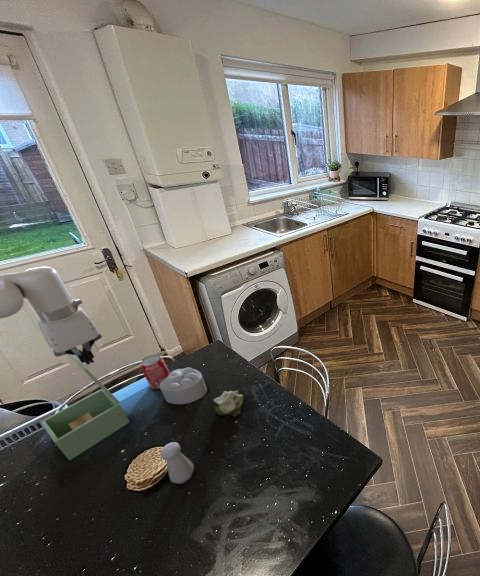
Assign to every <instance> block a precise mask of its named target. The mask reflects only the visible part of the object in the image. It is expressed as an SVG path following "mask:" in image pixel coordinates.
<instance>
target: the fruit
mask: <svg viewBox="0 0 480 576" xmlns="http://www.w3.org/2000/svg"><path fill="white" fill-rule="evenodd" d="M212 402H213V404H208V406H209V407H213V409H214V411H215V413H217V414H218V415H219V416H231V417H235V418H236V417H237V415H241V411H242V406H243V403H244V395H243V394H242V393H240V390H239V389H237V390H234V391H233V390H230V391H227V390H224V391H223V392H222V394H221V395H220V396H218V397H216V398H214V399H213V400H212Z"/></svg>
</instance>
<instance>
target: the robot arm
mask: <svg viewBox="0 0 480 576" xmlns="http://www.w3.org/2000/svg"><path fill="white" fill-rule="evenodd" d="M24 299H26V300H27V301H28V302H29V304H30V305H31V307H32V308H33V310H34V312H35V313H36V315H37V316H38V318H39V319H38V320H37V325H38V327H39V330H40V332H41V334H42V336H43V338H44V339H45V341H46V343H47V344H48V346H49V347H50V348H51V349H52V352H53V355H54V357H57V358H59V357H62V356H66V355H69V354H71V355H74V356H76V357H77V359H78V360H79V361H80V362H81V363H82V364H84V363H85V364H86V365H90V364H92V363H94V362H95V361H94V359H95V355H94V353H93V352H92V347H93V345H94V344H95V342H97V341H99V340H100V339H102V337H103V336H102V335H101V333H100V332H99V330H98V328H97V327H96V325H95V324H94V322H93V320H92V319H91V318H90V317H89V316H88V314H87V313H86V312H85V311H84V309H83V308H82V307H81V306H80V305H82V304H83V301H82V300H81V298H80V299H73V297H72V296H71V294H70V292H69V290H68V289H67V287H66V285H65V283H64V282H63V280H62V278H61V276H60V274H59V273H58V271H57V270H56V269H55V268H53V267H51V266H37V267H32V268H28V269H26V270H25V269H24V270H23V271H19V272H10V273H2V274H0V320H1V319H4V318H8V317H11V316H14V315H15V314H17V313H18V312H20V311H21V309H22V308H23V306H24V304H25V302H24V301H25V300H24ZM79 346H82V348H81V349H79V348H77V347H79Z"/></svg>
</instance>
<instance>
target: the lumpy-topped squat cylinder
mask: <svg viewBox="0 0 480 576" xmlns="http://www.w3.org/2000/svg"><path fill="white" fill-rule="evenodd" d="M159 390H160V391H161V393H162V394H163V398H164V399H165V401H166V403H168V404H174V405H186V404H190V403H193V402H195V401H198V400H199V399H201V398H203V397H204V396H205V395H206V394H207V392H208V388H207V385H206V383H205V380H204V377H203V374H202V373H201V372H200V371H199V370H197V369H194V368H192V367H185V368H177V369H175V370H174V369H173V370H172V371H170V374H169V375H168V377H167V378H166V379H165V380H164V381H162V382H161V383H160V389H159Z"/></svg>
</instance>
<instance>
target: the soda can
mask: <svg viewBox="0 0 480 576" xmlns="http://www.w3.org/2000/svg"><path fill="white" fill-rule="evenodd" d="M140 369H141V372H142V374H143V376H144V378H145V380H146V381H147V384H148V385H149V387H150V388H151V389H153V390H161V389H160V383H161V382H162V381H164V380H165V379H166V378H167V377H168V375H169V374H170V373H171V371H170V370H169V368H168V365H167V363H166V361H165V360H164V358H163V357H161V356H160V355H159V354H151V355H148V356H146V357H144V358H143V359H142V360H141V361H140Z"/></svg>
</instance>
